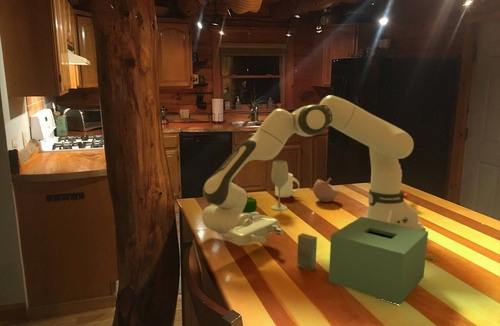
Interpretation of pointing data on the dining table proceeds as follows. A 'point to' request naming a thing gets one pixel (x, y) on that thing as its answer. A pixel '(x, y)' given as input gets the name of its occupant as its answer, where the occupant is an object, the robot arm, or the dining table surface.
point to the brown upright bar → (307, 251)
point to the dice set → (431, 257)
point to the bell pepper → (250, 205)
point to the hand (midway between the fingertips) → (273, 236)
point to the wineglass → (279, 179)
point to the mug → (287, 187)
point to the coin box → (378, 258)
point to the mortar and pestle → (325, 191)
